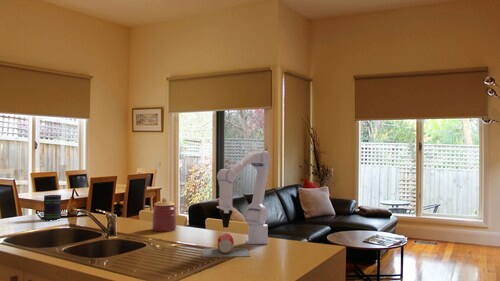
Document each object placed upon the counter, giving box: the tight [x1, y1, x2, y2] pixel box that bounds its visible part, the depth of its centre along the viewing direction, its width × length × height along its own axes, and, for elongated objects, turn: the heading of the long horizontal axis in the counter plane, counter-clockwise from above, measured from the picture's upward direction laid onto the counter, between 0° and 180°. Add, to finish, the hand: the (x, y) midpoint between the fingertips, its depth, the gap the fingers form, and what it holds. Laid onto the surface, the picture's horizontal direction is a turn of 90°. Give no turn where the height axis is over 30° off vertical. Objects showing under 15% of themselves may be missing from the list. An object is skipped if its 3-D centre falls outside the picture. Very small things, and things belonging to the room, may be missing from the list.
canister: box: [151, 197, 177, 233], centre depth 232 cm, size 13×13×18 cm
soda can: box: [216, 232, 235, 253], centre depth 183 cm, size 7×7×12 cm
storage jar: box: [43, 194, 62, 221], centre depth 260 cm, size 10×10×15 cm
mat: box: [201, 247, 251, 258], centre depth 181 cm, size 20×14×1 cm
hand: (225, 227), depth 185 cm, fingers closed
